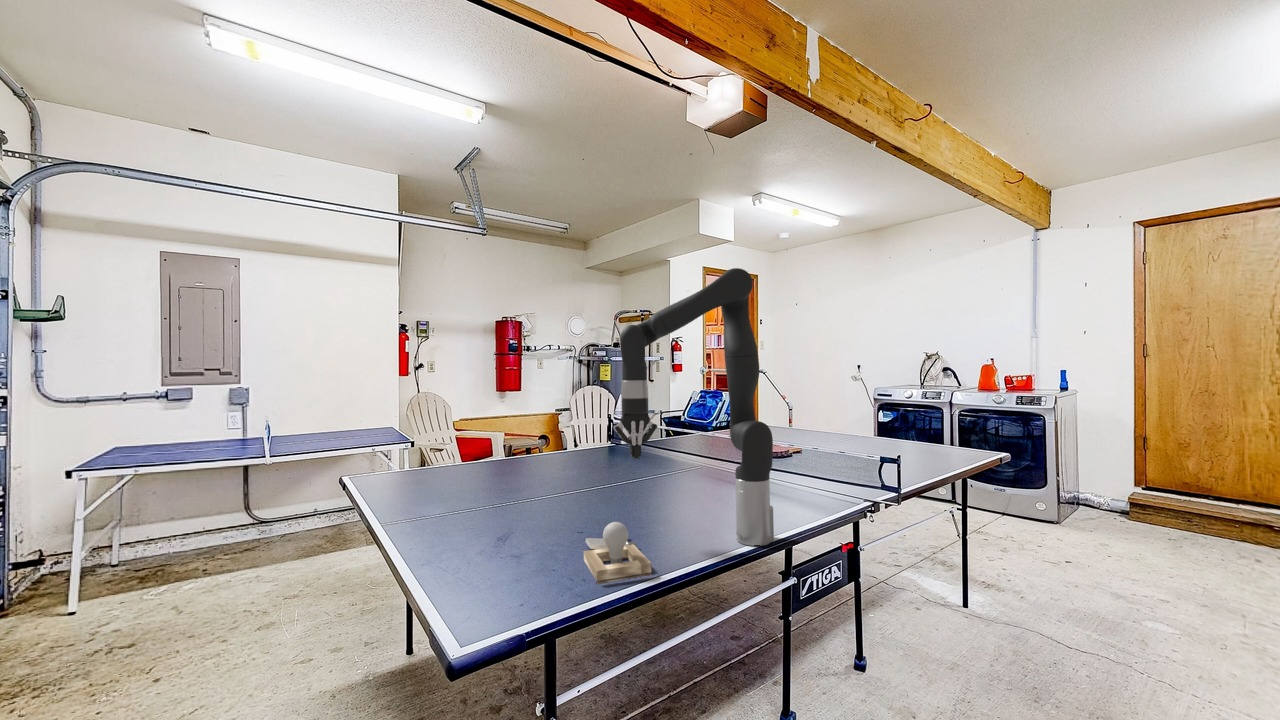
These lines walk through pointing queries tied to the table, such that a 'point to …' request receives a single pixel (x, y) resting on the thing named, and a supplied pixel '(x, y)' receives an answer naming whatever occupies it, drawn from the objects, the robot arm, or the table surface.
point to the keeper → (597, 543)
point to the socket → (617, 564)
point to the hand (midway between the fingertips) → (635, 458)
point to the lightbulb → (615, 540)
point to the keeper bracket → (632, 543)
